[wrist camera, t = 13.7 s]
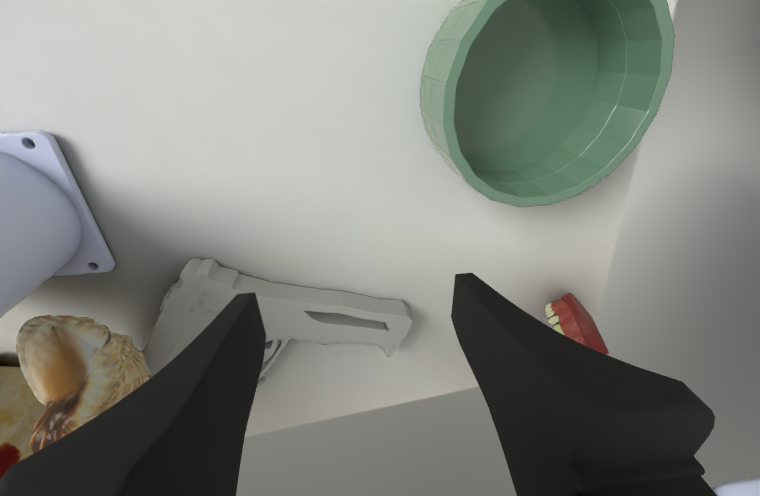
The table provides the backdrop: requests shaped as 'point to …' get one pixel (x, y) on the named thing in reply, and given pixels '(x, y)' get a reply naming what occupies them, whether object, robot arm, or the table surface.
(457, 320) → the robot arm
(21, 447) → the food model
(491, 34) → the bowl
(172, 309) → the toy gun
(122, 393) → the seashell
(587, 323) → the dentures model
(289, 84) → the table surface
